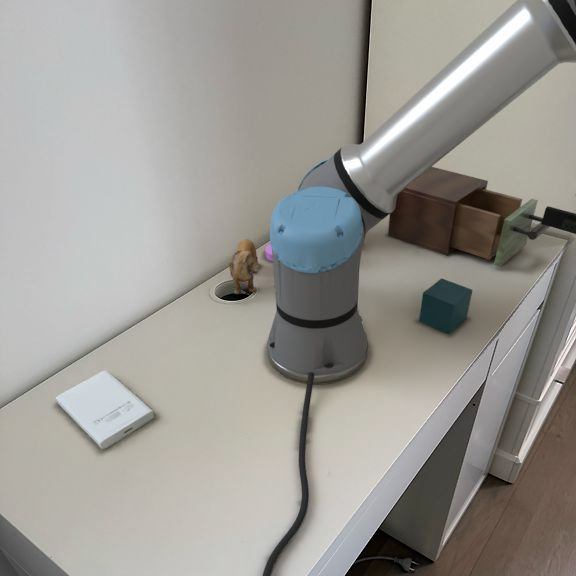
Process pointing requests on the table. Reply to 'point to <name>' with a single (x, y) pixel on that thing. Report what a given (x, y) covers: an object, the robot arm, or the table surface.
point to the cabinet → (431, 208)
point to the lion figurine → (244, 265)
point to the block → (445, 305)
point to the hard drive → (105, 408)
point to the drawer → (494, 225)
